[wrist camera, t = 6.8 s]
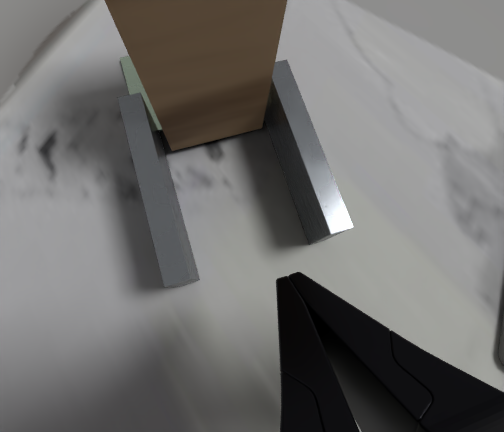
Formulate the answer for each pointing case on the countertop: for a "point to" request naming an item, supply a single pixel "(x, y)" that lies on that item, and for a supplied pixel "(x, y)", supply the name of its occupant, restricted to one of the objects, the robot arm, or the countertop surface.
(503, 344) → the smartphone
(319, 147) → the chute
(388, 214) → the countertop surface
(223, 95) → the brown rectangular block
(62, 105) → the countertop surface
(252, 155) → the countertop surface
